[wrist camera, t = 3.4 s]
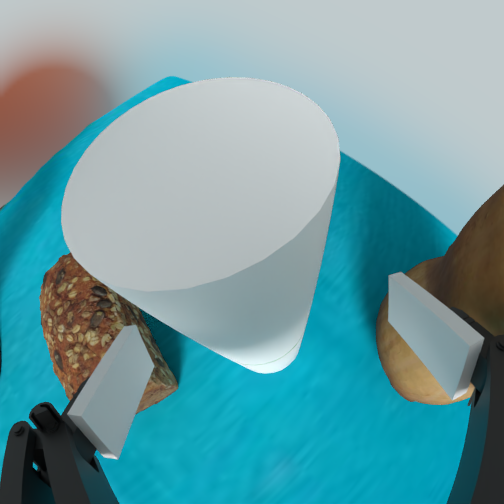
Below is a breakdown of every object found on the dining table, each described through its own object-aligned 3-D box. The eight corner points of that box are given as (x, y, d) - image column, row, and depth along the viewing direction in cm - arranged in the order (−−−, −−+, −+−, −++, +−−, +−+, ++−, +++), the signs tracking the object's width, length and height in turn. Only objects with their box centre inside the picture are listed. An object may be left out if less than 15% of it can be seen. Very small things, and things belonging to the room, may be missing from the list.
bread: (188, 388, 27) (144, 384, 18) (119, 426, 25) (62, 430, 16) (124, 263, 35) (82, 223, 26) (70, 303, 33) (22, 274, 24)
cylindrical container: (277, 295, 30) (241, 60, 8) (314, 349, 27) (406, 172, 5) (220, 329, 29) (59, 153, 7) (254, 385, 26) (88, 361, 4)
